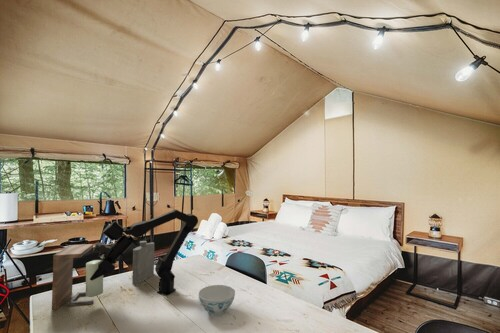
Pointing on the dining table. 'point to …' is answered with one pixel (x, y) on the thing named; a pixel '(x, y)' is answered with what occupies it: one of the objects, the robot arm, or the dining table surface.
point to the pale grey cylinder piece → (95, 285)
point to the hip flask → (143, 262)
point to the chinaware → (216, 298)
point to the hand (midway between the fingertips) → (90, 277)
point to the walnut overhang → (67, 275)
